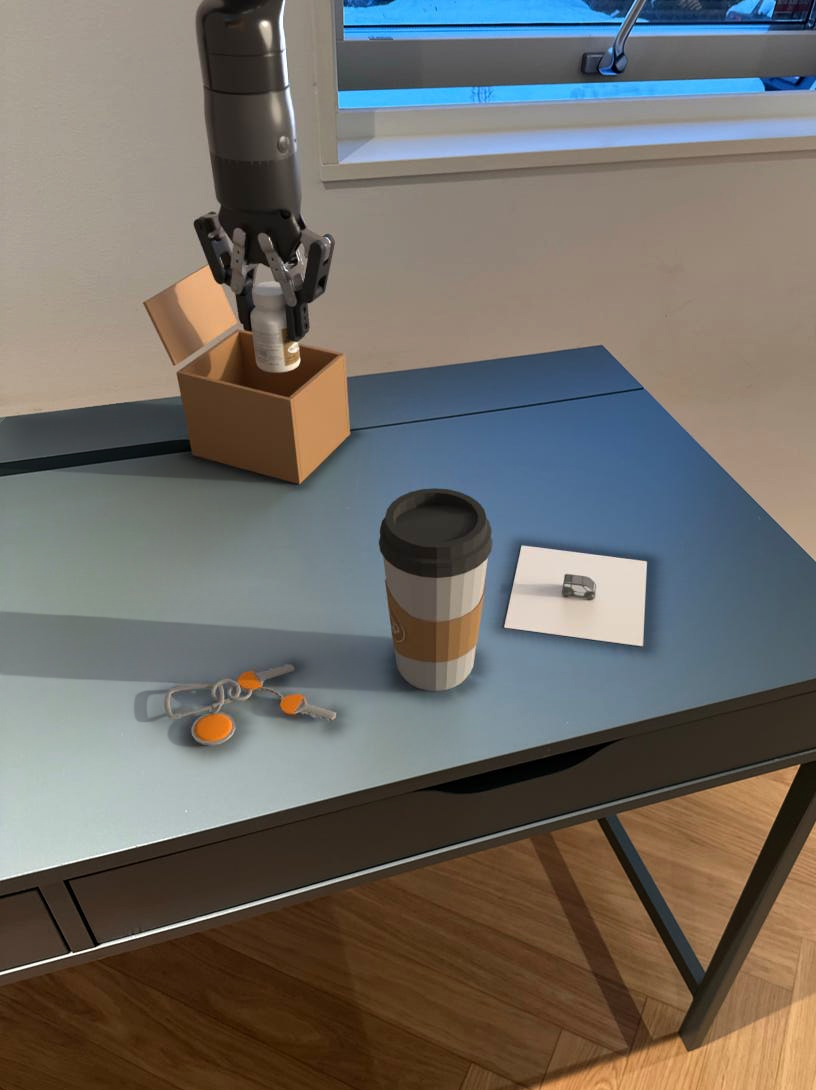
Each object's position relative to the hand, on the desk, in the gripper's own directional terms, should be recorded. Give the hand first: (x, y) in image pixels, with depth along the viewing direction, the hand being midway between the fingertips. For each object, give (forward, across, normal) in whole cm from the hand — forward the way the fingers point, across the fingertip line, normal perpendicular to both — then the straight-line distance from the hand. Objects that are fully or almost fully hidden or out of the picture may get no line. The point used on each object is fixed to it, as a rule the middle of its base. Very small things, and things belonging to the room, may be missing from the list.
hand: (274, 332), depth 92 cm
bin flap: (0, +9, 0) cm, 9 cm away
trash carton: (+13, +2, 0) cm, 13 cm away
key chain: (+13, -17, +34) cm, 40 cm away
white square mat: (+13, -36, +10) cm, 40 cm away
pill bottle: (+4, 0, 0) cm, 4 cm away
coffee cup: (+13, -28, +24) cm, 39 cm away
